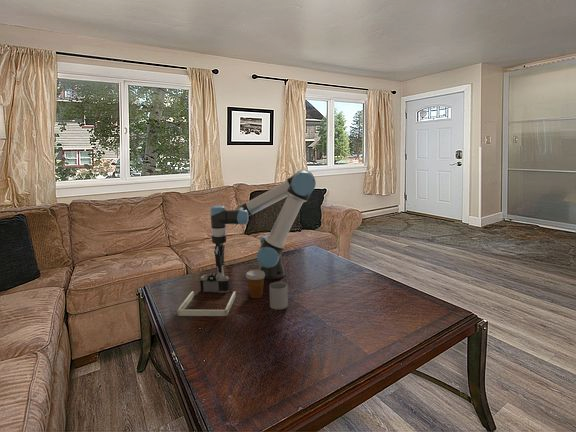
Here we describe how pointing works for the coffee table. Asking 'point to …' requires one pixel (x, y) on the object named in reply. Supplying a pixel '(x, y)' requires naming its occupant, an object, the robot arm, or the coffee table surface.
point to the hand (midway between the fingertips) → (220, 277)
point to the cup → (278, 295)
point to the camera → (214, 283)
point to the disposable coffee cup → (255, 283)
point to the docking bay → (190, 312)
